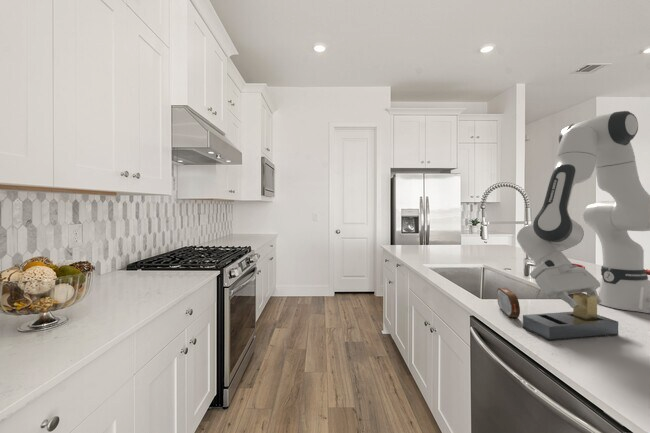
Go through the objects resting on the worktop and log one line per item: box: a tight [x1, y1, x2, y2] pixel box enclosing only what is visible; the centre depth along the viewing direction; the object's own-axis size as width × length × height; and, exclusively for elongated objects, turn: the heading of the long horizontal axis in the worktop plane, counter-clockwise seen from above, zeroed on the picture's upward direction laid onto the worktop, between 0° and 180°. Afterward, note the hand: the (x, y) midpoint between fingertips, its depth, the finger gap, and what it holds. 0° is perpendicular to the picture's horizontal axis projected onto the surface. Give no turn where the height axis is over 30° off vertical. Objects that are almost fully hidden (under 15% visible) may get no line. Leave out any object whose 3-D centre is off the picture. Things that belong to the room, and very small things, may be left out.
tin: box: [496, 286, 521, 318], centre depth 112 cm, size 15×3×8 cm, turn 168°
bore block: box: [522, 311, 619, 342], centre depth 95 cm, size 22×10×4 cm, turn 97°
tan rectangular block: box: [572, 292, 598, 321], centre depth 96 cm, size 4×4×10 cm
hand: (587, 305), depth 95 cm, fingers open, 8 cm apart
